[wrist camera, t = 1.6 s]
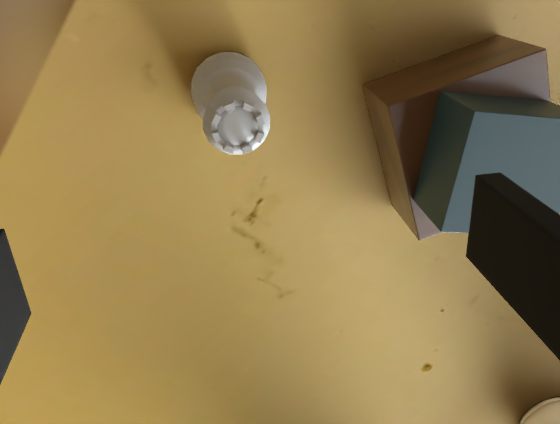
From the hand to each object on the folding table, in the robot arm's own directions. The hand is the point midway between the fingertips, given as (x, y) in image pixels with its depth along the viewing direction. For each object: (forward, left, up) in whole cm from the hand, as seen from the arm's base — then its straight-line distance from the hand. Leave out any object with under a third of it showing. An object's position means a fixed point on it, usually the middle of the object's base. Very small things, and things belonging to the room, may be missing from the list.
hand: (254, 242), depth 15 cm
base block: (+4, +14, -19) cm, 24 cm away
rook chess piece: (0, 0, -19) cm, 19 cm away
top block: (+4, +14, -14) cm, 20 cm away
